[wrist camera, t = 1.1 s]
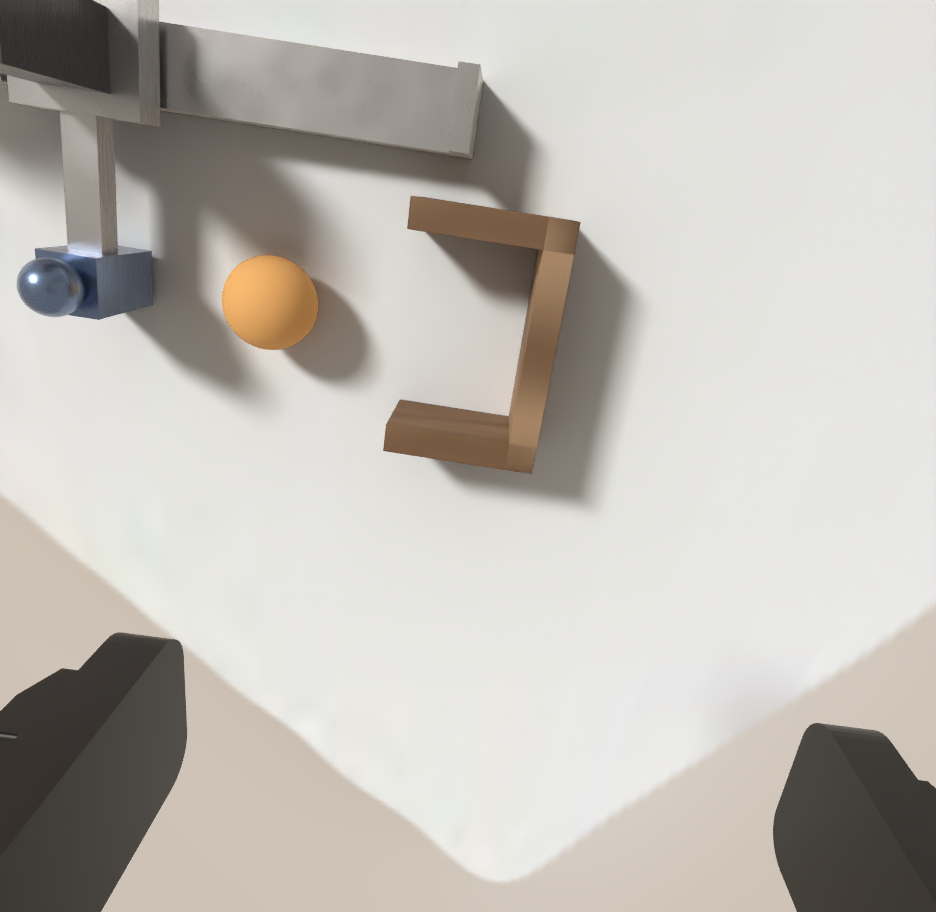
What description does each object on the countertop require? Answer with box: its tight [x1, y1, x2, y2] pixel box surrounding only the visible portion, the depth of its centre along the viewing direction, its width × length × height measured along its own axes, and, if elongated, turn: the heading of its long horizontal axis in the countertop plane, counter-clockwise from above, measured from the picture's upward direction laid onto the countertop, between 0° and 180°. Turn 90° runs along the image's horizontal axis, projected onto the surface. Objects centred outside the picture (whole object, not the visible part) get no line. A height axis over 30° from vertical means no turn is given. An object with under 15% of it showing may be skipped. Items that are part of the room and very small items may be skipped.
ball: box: [222, 255, 318, 350], centre depth 29 cm, size 4×4×4 cm
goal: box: [383, 196, 580, 474], centre depth 29 cm, size 10×6×4 cm, turn 172°
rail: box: [0, 22, 483, 159], centre depth 27 cm, size 3×19×3 cm, turn 82°
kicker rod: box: [0, 0, 160, 320], centre depth 25 cm, size 12×5×9 cm, turn 172°
